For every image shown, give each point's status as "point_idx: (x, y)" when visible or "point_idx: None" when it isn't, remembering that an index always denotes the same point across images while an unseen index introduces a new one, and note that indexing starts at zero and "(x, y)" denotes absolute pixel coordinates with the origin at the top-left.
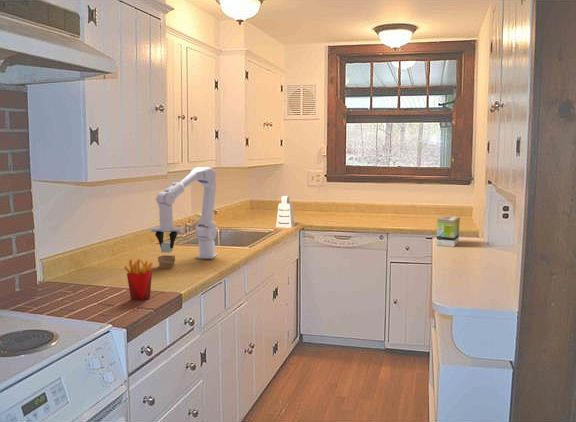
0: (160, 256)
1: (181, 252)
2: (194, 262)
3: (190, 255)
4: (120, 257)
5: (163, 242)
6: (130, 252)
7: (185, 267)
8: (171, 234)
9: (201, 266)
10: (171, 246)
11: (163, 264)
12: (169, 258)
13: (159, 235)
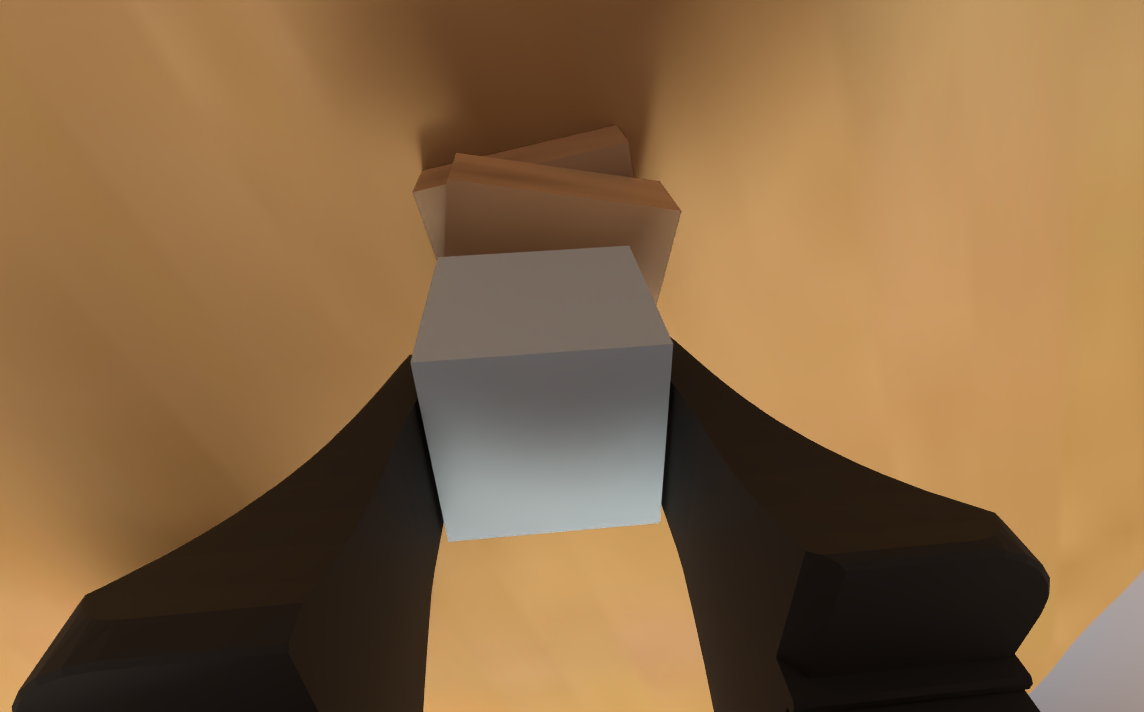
0: (646, 258)
1: (608, 704)
2: (285, 454)
3: (485, 653)
4: (1135, 498)
5: (653, 489)
6: (1035, 638)
7: (232, 197)
8: (173, 619)
9: (43, 289)
10: (400, 370)
11: (557, 151)
12: (447, 193)
13: (807, 524)
